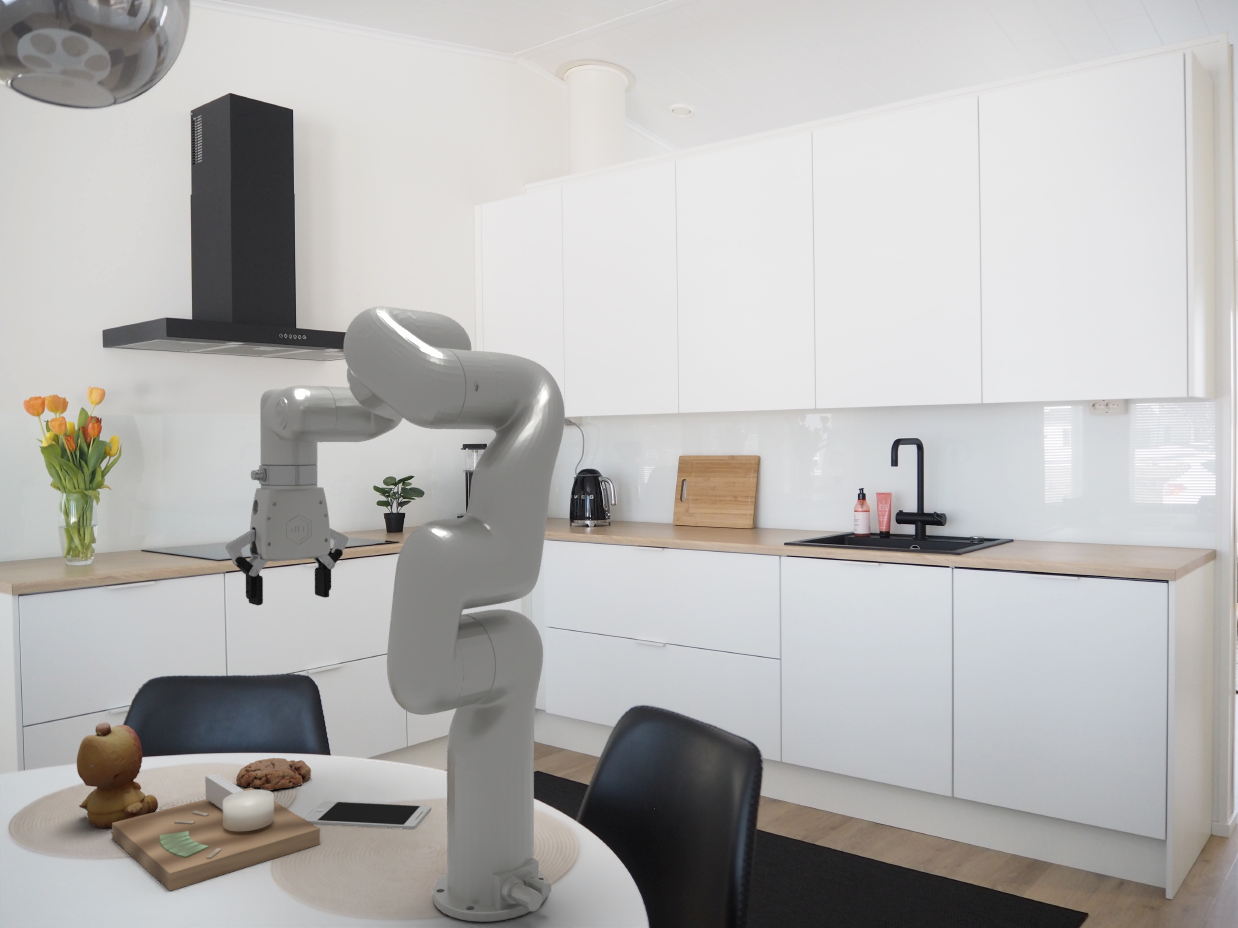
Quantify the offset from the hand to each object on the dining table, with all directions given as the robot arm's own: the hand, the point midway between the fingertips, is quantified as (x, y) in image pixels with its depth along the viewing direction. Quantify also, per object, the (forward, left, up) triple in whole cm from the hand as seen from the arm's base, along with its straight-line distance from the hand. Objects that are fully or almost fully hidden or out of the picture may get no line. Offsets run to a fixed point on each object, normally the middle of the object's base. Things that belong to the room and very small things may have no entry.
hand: (289, 599), depth 134 cm
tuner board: (-7, +13, -28) cm, 32 cm away
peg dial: (-5, +10, -26) cm, 28 cm away
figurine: (+9, +20, -28) cm, 36 cm away
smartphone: (-13, -5, -29) cm, 32 cm away
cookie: (+9, -2, -29) cm, 30 cm away
